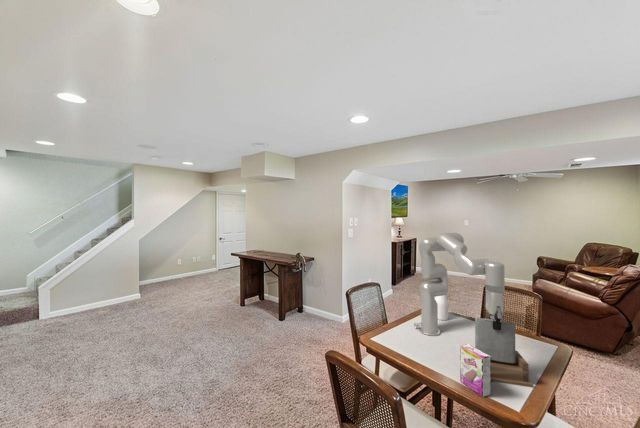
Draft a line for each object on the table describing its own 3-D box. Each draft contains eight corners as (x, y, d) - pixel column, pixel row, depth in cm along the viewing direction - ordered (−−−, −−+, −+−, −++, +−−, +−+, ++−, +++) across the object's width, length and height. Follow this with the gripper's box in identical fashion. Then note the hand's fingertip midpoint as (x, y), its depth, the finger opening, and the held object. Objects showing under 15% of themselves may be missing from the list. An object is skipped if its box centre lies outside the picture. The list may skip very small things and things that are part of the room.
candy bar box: (459, 381, 119) (459, 345, 119) (467, 379, 121) (467, 343, 121) (482, 398, 108) (482, 358, 108) (491, 395, 110) (491, 355, 110)
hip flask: (514, 360, 124) (514, 317, 124) (516, 365, 120) (516, 320, 120) (475, 352, 131) (474, 312, 130) (475, 356, 127) (475, 315, 127)
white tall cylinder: (449, 321, 184) (449, 278, 184) (434, 320, 187) (434, 277, 187) (447, 316, 193) (446, 275, 193) (432, 315, 196) (432, 274, 196)
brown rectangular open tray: (532, 387, 115) (532, 366, 115) (470, 377, 122) (470, 358, 122) (518, 367, 129) (518, 349, 129) (463, 360, 136) (463, 342, 136)
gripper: (480, 283, 134) (480, 319, 134) (491, 293, 118) (491, 334, 118) (497, 284, 132) (497, 321, 132) (511, 294, 116) (511, 336, 116)
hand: (494, 327), depth 125 cm, fingers closed on hip flask, 4 cm apart
